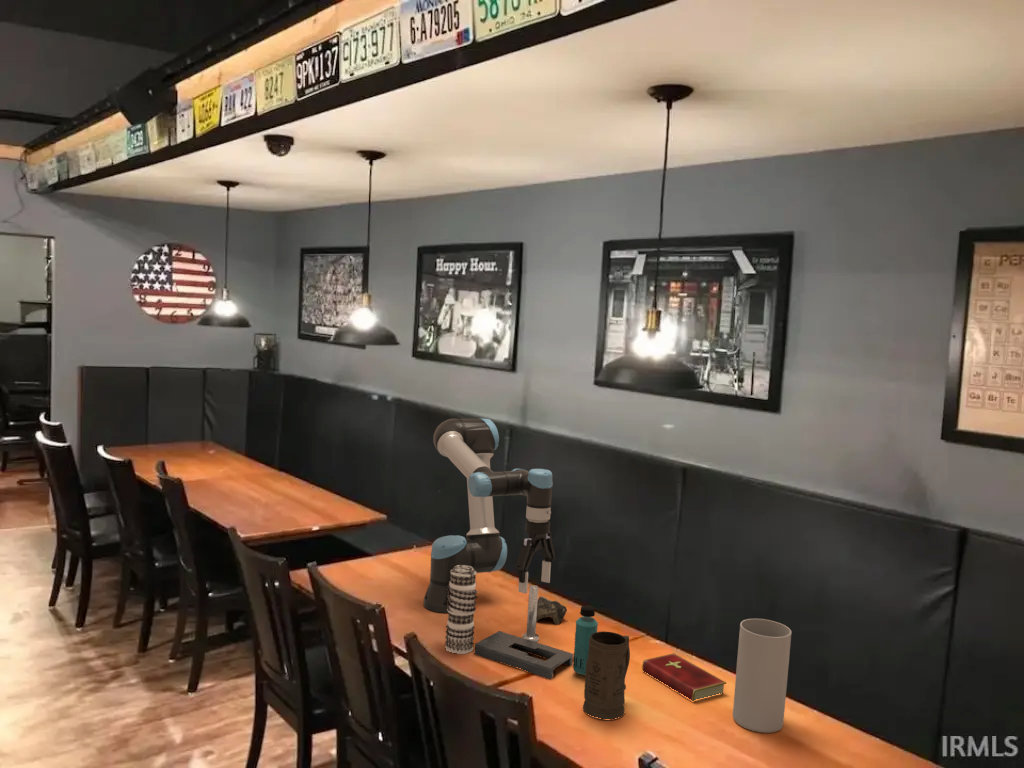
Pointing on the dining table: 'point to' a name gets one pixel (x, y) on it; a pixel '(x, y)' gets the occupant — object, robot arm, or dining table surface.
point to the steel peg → (532, 615)
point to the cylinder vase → (761, 675)
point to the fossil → (550, 610)
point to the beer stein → (606, 675)
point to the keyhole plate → (522, 653)
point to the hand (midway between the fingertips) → (534, 587)
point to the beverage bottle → (583, 638)
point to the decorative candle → (461, 609)
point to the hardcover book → (683, 676)
